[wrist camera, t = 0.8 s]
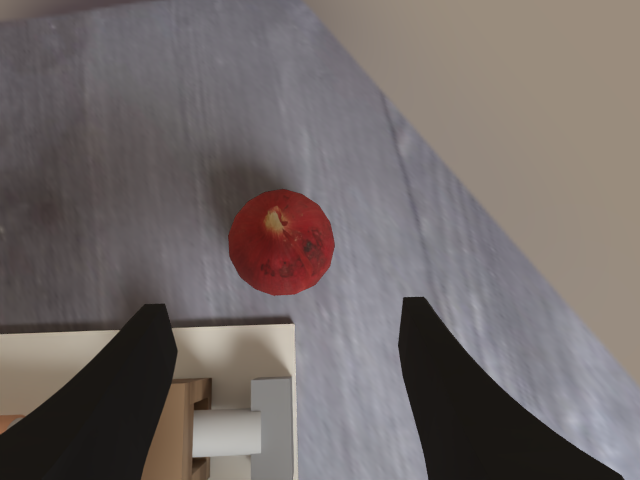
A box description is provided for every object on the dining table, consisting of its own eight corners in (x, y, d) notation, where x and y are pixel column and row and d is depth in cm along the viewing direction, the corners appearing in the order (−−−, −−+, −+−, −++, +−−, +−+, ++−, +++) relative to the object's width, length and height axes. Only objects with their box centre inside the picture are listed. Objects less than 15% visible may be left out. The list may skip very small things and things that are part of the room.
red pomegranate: (348, 249, 29) (363, 210, 21) (293, 322, 28) (286, 308, 20) (278, 196, 30) (267, 140, 22) (220, 265, 29) (187, 230, 21)
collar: (212, 377, 26) (184, 383, 20) (209, 476, 25) (180, 512, 19) (169, 379, 26) (130, 385, 20) (165, 478, 25) (122, 515, 19)
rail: (294, 324, 28) (292, 318, 23) (299, 526, 25) (297, 563, 21) (-110, 338, 27) (-191, 335, 23) (-151, 549, 24) (-253, 592, 20)
